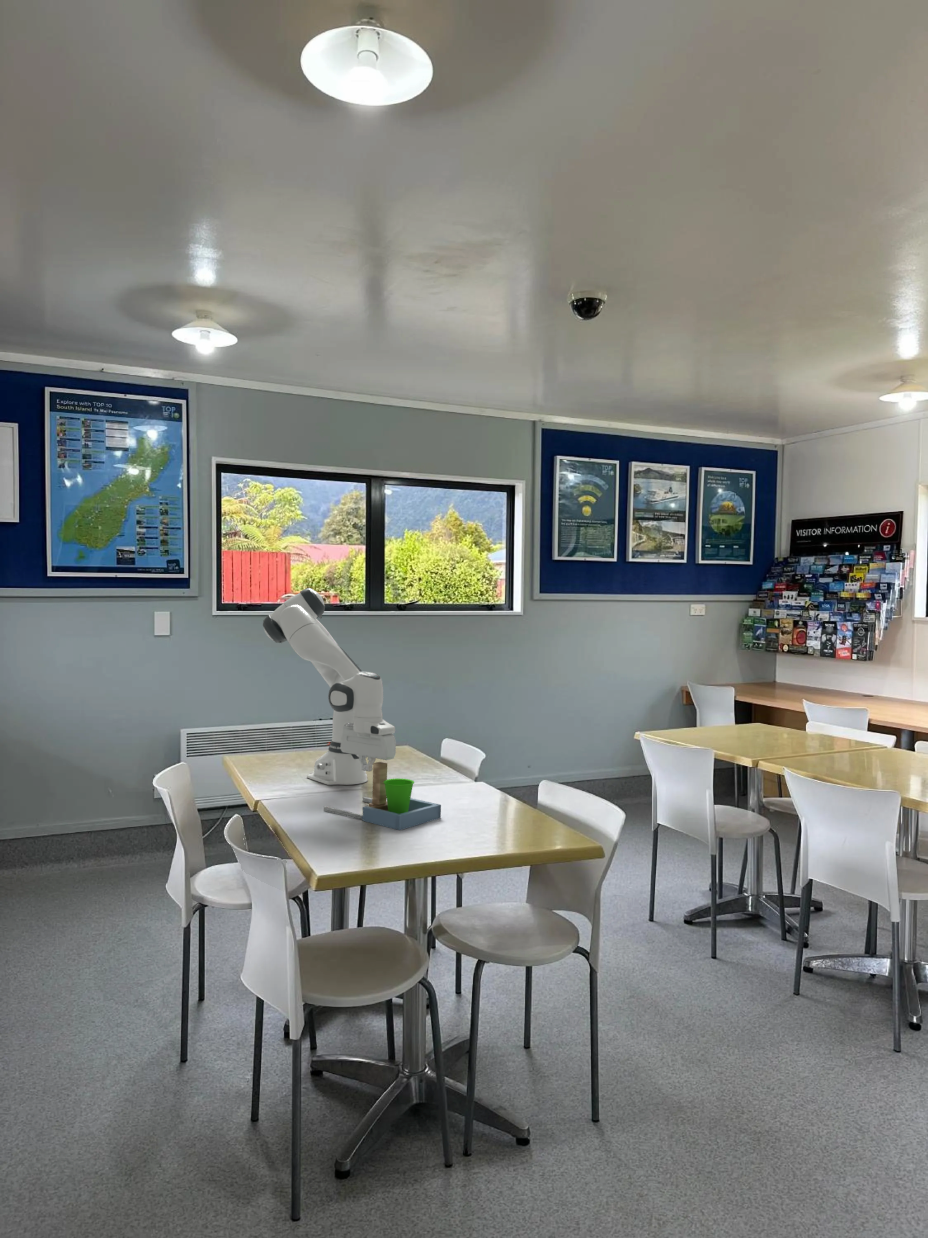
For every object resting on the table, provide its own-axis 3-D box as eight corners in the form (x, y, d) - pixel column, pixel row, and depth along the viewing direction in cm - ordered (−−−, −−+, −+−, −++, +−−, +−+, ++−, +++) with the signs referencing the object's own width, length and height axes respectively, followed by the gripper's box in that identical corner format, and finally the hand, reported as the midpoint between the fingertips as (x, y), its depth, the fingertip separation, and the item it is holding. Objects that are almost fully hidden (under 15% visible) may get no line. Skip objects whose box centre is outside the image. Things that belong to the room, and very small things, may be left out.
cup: (376, 820, 244) (377, 782, 244) (392, 813, 252) (392, 777, 252) (404, 824, 240) (405, 786, 240) (418, 817, 248) (419, 780, 248)
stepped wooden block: (361, 815, 248) (362, 765, 247) (389, 808, 257) (390, 759, 257) (373, 818, 244) (374, 767, 244) (401, 811, 254) (402, 762, 254)
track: (323, 810, 253) (323, 806, 253) (364, 800, 267) (364, 797, 267) (361, 820, 244) (361, 816, 244) (401, 809, 257) (402, 805, 257)
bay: (362, 820, 243) (362, 807, 243) (404, 809, 257) (404, 796, 257) (399, 830, 234) (399, 816, 234) (440, 818, 248) (440, 804, 248)
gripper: (336, 722, 259) (335, 767, 259) (385, 730, 246) (384, 777, 247) (350, 720, 264) (349, 764, 264) (399, 728, 251) (398, 774, 252)
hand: (366, 770), depth 255 cm, fingers closed
